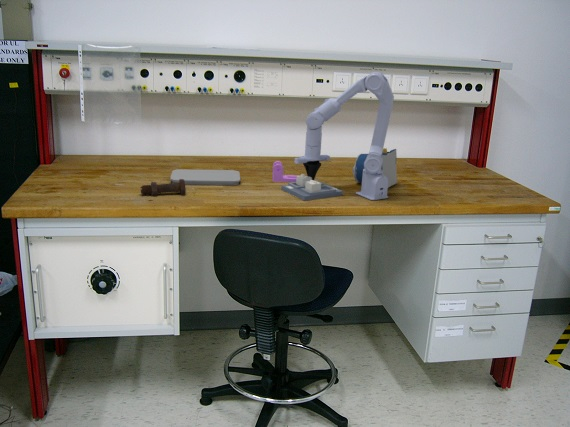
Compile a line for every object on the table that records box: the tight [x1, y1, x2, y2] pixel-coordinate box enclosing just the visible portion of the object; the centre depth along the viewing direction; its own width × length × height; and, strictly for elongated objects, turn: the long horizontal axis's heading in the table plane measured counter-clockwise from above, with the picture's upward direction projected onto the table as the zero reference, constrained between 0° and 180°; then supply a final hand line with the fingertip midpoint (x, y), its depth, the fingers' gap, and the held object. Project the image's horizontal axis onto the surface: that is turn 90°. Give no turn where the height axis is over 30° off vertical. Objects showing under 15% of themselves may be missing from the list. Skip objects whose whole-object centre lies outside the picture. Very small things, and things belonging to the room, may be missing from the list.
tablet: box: [170, 168, 241, 186], centre depth 218 cm, size 16×26×2 cm, turn 97°
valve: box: [351, 147, 398, 188], centre depth 221 cm, size 13×15×15 cm
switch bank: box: [280, 179, 344, 202], centre depth 208 cm, size 15×17×2 cm
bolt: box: [140, 179, 186, 197], centre depth 197 cm, size 6×5×15 cm
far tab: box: [296, 173, 312, 186], centre depth 210 cm, size 4×4×4 cm
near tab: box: [305, 179, 321, 192], centre depth 203 cm, size 4×4×4 cm
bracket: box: [272, 160, 298, 183], centre depth 222 cm, size 13×6×7 cm, turn 93°
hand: (310, 180), depth 212 cm, fingers closed
